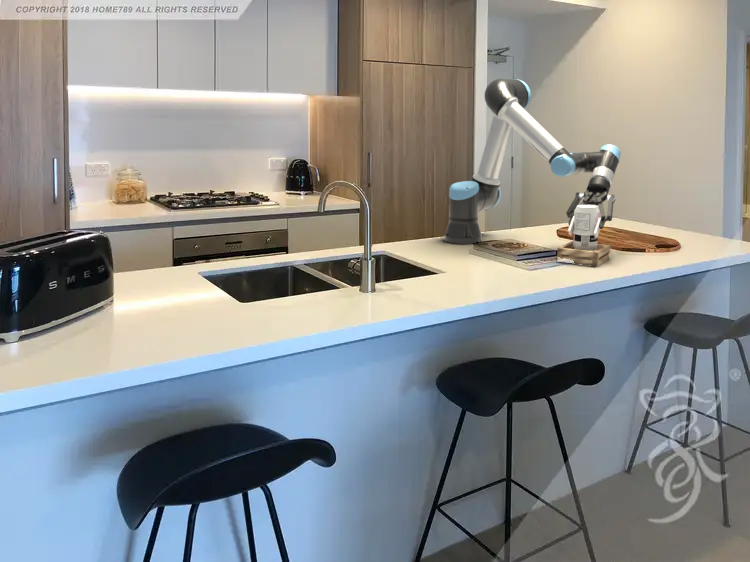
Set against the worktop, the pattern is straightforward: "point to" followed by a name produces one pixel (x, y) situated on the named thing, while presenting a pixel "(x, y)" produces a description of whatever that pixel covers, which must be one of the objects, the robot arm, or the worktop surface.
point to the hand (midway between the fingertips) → (582, 234)
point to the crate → (585, 254)
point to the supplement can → (585, 227)
